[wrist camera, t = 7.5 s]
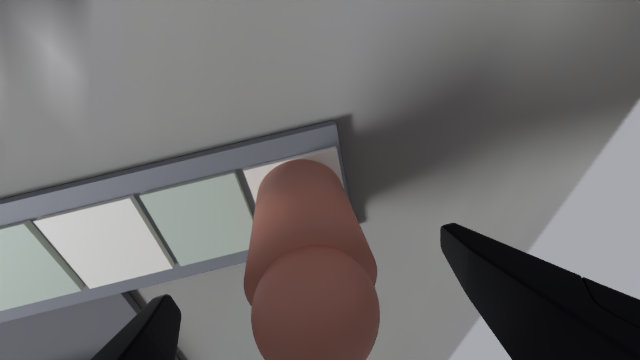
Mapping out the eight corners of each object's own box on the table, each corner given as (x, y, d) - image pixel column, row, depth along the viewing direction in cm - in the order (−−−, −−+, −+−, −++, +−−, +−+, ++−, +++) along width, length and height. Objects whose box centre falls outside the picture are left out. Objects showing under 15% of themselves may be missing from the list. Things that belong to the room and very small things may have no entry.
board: (352, 226, 15) (357, 238, 14) (-62, 329, 15) (-84, 347, 14) (333, 120, 12) (337, 126, 11) (-177, 241, 12) (-215, 258, 11)
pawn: (349, 223, 14) (417, 399, 7) (271, 243, 14) (261, 439, 7) (335, 149, 12) (408, 289, 5) (245, 171, 12) (197, 342, 5)
